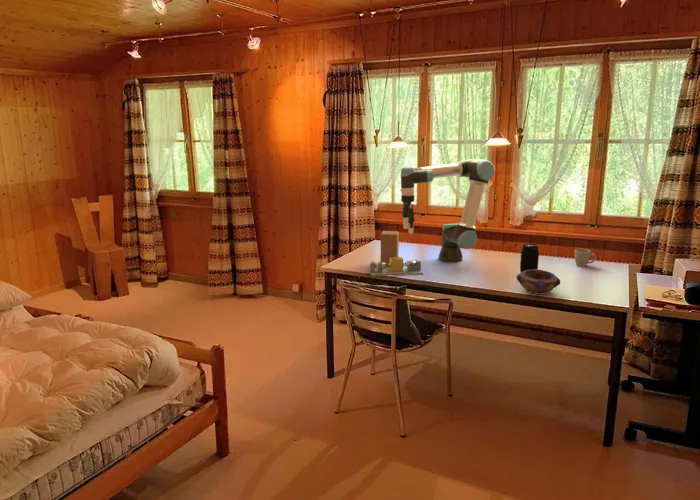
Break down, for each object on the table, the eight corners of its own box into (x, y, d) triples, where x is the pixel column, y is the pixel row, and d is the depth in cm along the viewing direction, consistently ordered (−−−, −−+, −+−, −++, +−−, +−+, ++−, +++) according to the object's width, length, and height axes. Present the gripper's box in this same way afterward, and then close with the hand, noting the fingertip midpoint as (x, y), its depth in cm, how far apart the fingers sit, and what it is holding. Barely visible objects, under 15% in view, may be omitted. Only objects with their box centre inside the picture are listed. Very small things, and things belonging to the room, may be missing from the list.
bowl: (537, 299, 255) (538, 280, 253) (511, 289, 271) (512, 271, 269) (564, 294, 263) (565, 275, 260) (537, 285, 279) (538, 267, 276)
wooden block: (396, 266, 317) (396, 234, 313) (380, 266, 319) (380, 234, 315) (398, 262, 327) (398, 231, 322) (382, 261, 329) (382, 230, 324)
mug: (573, 266, 314) (574, 251, 312) (573, 263, 322) (575, 248, 320) (594, 268, 309) (596, 253, 307) (595, 265, 317) (596, 249, 315)
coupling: (403, 269, 307) (403, 256, 305) (404, 272, 302) (405, 258, 300) (387, 270, 306) (388, 257, 304) (389, 272, 301) (389, 259, 299)
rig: (418, 269, 310) (418, 266, 310) (422, 274, 301) (422, 271, 300) (368, 271, 307) (368, 268, 307) (371, 276, 297) (371, 273, 297)
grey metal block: (417, 270, 309) (417, 260, 308) (420, 272, 305) (420, 261, 304) (404, 271, 306) (404, 261, 305) (407, 273, 302) (407, 263, 301)
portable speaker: (537, 281, 286) (540, 246, 281) (519, 280, 288) (521, 245, 283) (536, 276, 294) (539, 243, 289) (519, 275, 296) (521, 242, 291)
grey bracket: (385, 272, 305) (385, 262, 304) (385, 274, 301) (385, 264, 300) (371, 271, 307) (371, 261, 305) (370, 273, 302) (370, 263, 301)
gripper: (396, 192, 310) (397, 227, 315) (406, 198, 286) (406, 235, 291) (409, 191, 311) (409, 226, 316) (419, 197, 287) (420, 235, 292)
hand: (408, 231), depth 304 cm, fingers open, 13 cm apart
